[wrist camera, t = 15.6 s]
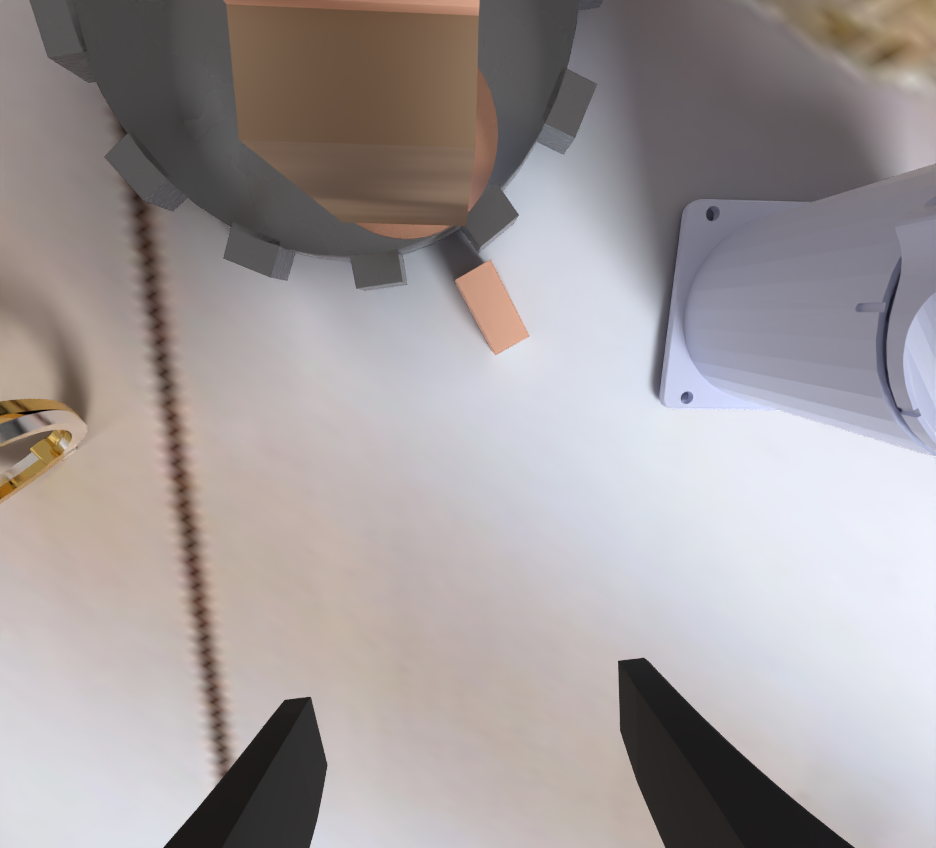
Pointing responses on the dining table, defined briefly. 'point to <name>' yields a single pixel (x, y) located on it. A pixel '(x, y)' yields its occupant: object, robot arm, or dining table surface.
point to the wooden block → (362, 102)
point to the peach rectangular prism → (492, 307)
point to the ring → (32, 417)
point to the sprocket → (258, 183)
